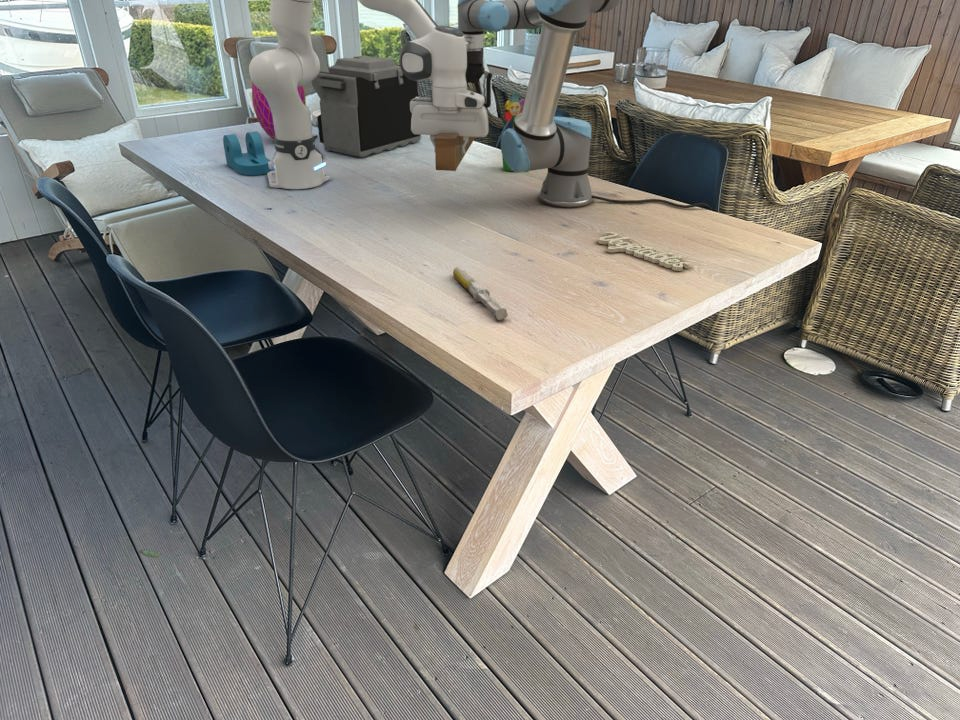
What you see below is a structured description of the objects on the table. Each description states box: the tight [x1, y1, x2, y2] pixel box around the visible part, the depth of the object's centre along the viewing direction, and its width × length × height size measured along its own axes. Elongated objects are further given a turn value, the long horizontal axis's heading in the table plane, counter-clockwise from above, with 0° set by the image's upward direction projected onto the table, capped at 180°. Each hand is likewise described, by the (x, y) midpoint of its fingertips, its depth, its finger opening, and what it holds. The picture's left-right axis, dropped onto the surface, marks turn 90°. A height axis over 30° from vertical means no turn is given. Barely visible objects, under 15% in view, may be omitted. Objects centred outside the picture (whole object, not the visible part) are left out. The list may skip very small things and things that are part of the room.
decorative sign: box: [598, 231, 690, 272], centre depth 167 cm, size 26×1×10 cm
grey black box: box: [311, 55, 422, 159], centre depth 250 cm, size 37×22×30 cm, turn 144°
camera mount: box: [222, 131, 272, 176], centre depth 226 cm, size 18×10×10 cm, turn 35°
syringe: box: [452, 266, 509, 321], centre depth 145 cm, size 25×4×3 cm, turn 21°
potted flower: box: [500, 91, 525, 172], centre depth 226 cm, size 9×8×25 cm
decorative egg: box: [251, 81, 307, 140], centre depth 257 cm, size 19×19×30 cm
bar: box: [434, 133, 476, 172], centre depth 197 cm, size 53×5×8 cm, turn 173°
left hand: (450, 152), depth 182 cm, fingers closed on bar, 5 cm apart
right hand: (470, 129), depth 216 cm, fingers closed on bar, 5 cm apart
